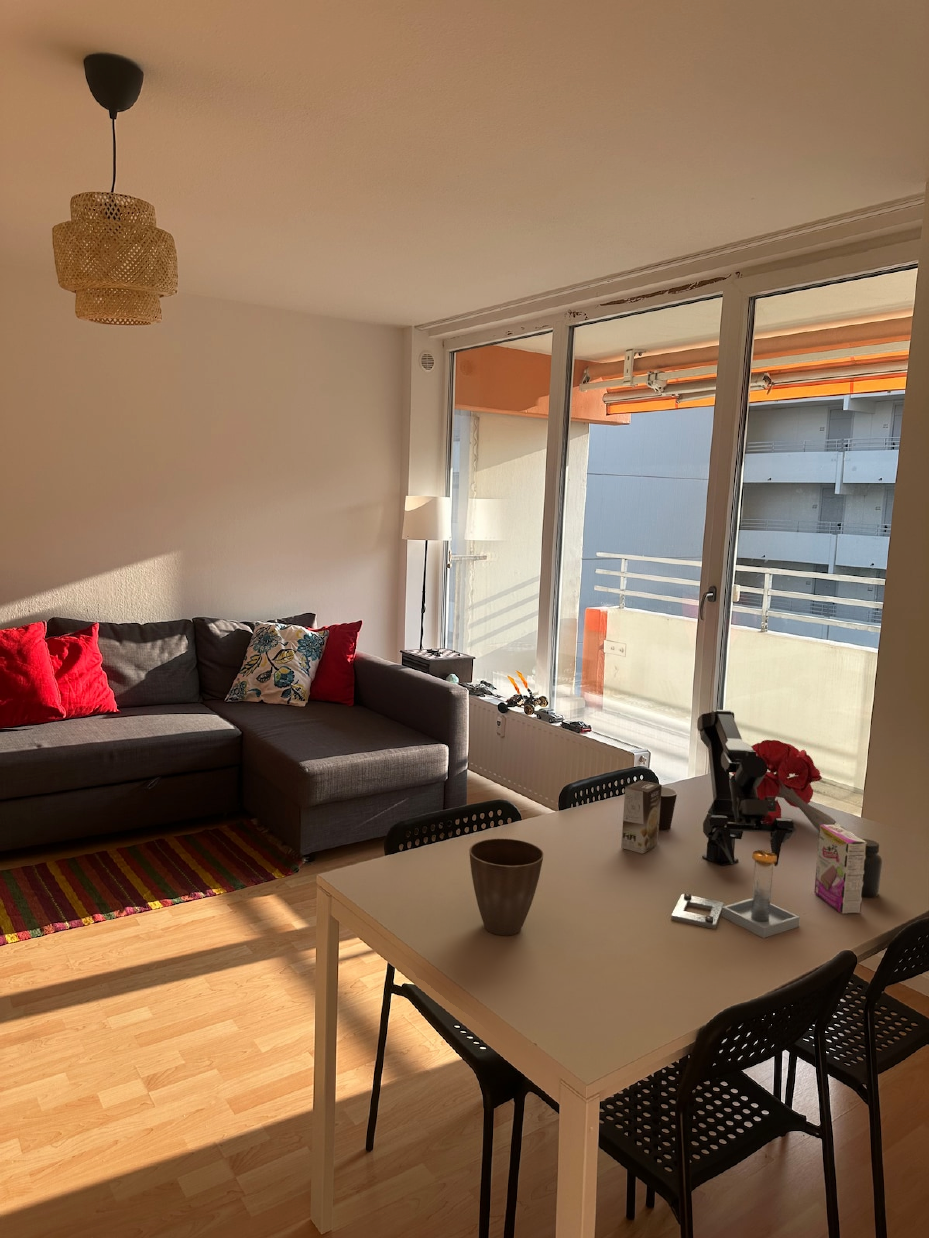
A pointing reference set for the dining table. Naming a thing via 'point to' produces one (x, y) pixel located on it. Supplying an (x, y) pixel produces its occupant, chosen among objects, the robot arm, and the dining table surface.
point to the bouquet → (789, 780)
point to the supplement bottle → (872, 870)
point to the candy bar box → (840, 868)
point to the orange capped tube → (762, 884)
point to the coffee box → (641, 816)
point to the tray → (776, 924)
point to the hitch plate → (697, 919)
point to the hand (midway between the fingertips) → (754, 864)
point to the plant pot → (505, 882)
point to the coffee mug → (667, 808)
